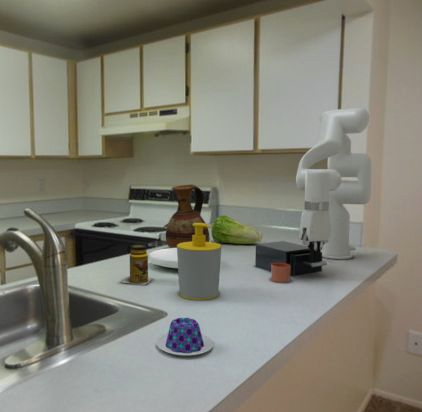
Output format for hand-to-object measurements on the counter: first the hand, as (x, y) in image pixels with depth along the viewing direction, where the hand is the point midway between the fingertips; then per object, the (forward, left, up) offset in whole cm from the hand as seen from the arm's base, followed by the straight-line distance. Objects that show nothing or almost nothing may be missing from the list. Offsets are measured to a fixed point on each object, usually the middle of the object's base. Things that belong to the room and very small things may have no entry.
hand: (314, 261), depth 137 cm
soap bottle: (+44, -3, -6) cm, 44 cm away
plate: (+30, -36, -6) cm, 47 cm away
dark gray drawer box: (0, -14, -6) cm, 15 cm away
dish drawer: (0, -8, -5) cm, 9 cm away
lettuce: (-16, -63, -6) cm, 66 cm away
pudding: (+66, +26, -6) cm, 71 cm away
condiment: (+55, -24, -6) cm, 60 cm away
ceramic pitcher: (+13, -62, -6) cm, 63 cm away
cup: (+12, -3, -6) cm, 14 cm away
